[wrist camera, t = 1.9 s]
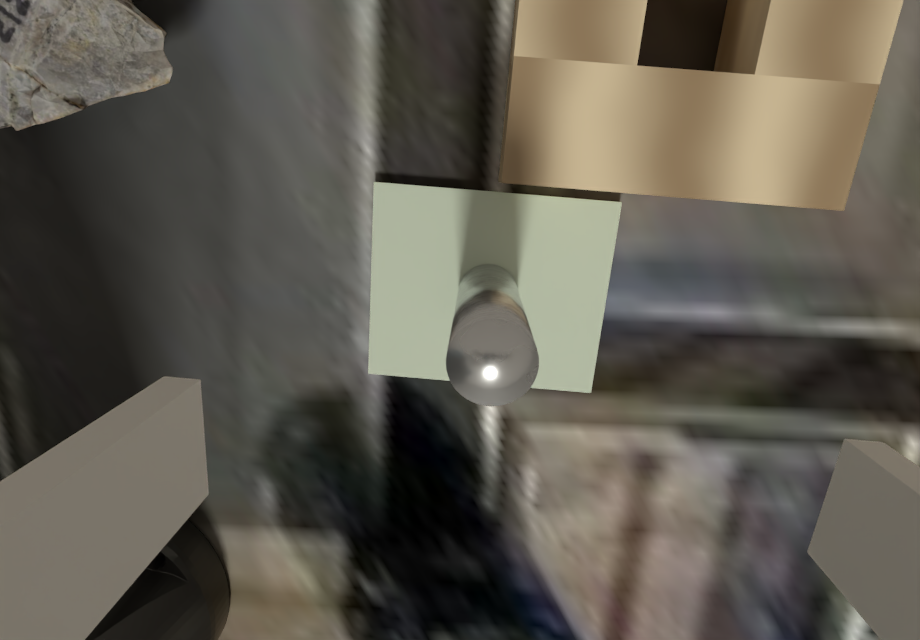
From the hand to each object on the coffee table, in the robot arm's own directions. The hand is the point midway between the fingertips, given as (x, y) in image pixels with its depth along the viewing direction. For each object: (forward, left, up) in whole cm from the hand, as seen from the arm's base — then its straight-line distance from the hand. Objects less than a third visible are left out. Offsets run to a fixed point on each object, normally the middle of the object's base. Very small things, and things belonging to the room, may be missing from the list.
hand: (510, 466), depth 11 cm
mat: (0, 0, -17) cm, 17 cm away
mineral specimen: (-20, +10, -17) cm, 28 cm away
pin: (0, 0, -16) cm, 16 cm away
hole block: (+7, +12, -17) cm, 22 cm away
